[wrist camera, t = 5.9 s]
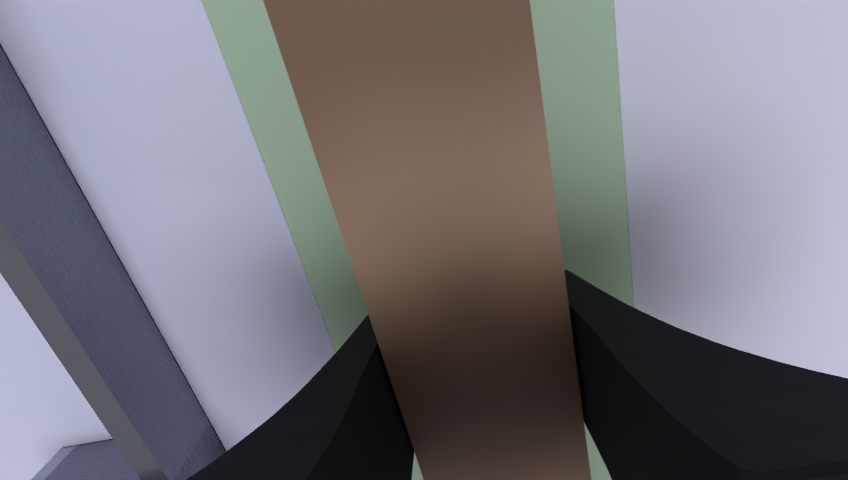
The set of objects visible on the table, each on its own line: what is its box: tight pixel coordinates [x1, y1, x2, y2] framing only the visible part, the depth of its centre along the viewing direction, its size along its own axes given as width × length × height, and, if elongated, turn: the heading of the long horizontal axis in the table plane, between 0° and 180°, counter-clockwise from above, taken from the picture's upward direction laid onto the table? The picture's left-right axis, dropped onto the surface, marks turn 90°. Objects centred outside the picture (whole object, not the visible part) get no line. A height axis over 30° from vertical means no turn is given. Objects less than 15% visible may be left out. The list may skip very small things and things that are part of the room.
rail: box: [263, 0, 591, 480], centre depth 10 cm, size 18×4×4 cm, turn 13°
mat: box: [202, 0, 634, 480], centre depth 13 cm, size 20×9×1 cm, turn 13°
